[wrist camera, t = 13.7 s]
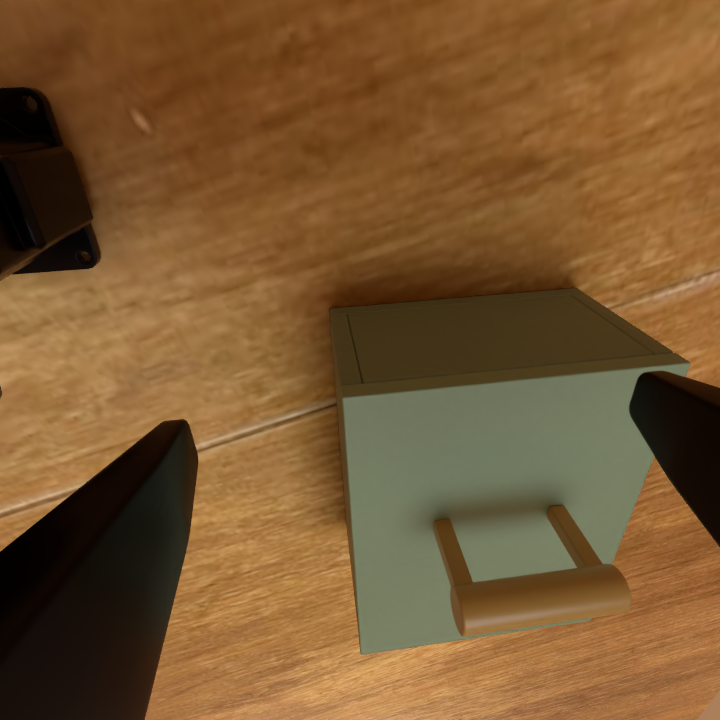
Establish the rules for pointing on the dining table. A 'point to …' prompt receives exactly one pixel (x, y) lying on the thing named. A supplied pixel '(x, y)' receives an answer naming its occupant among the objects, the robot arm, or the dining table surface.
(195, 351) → the dining table surface
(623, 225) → the dining table surface
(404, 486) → the lid
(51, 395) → the dining table surface
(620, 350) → the green box
